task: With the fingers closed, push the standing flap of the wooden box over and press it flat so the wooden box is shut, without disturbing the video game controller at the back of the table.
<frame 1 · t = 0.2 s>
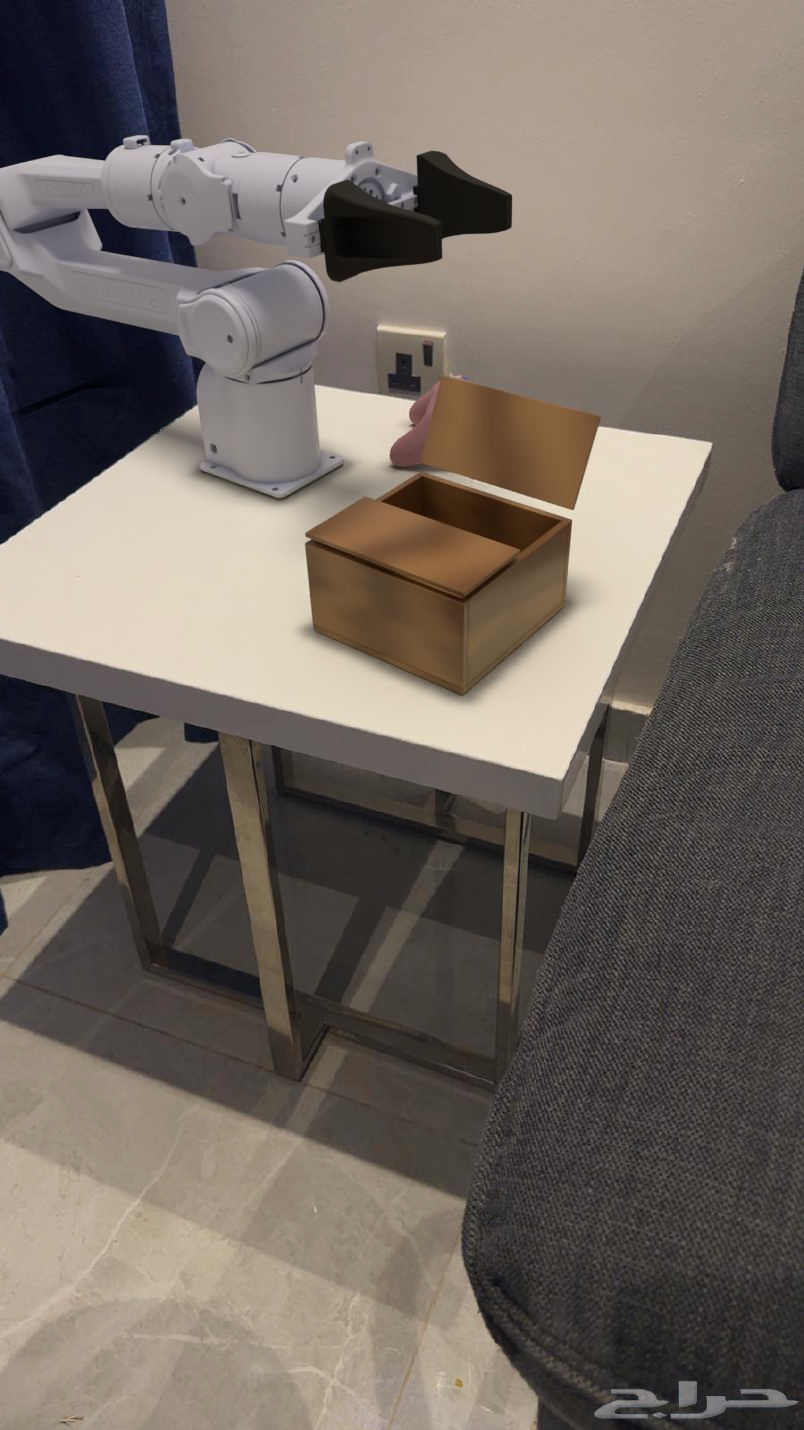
hand: (475, 226, 63), 21 cm above the table, tool horizontal, fingers open, 7 cm apart
wooden box: (440, 617, 69), on the table
flap: (505, 440, 67), point 10 cm above the table, hinge at 115.0°
video game controller: (433, 448, 89), on the table
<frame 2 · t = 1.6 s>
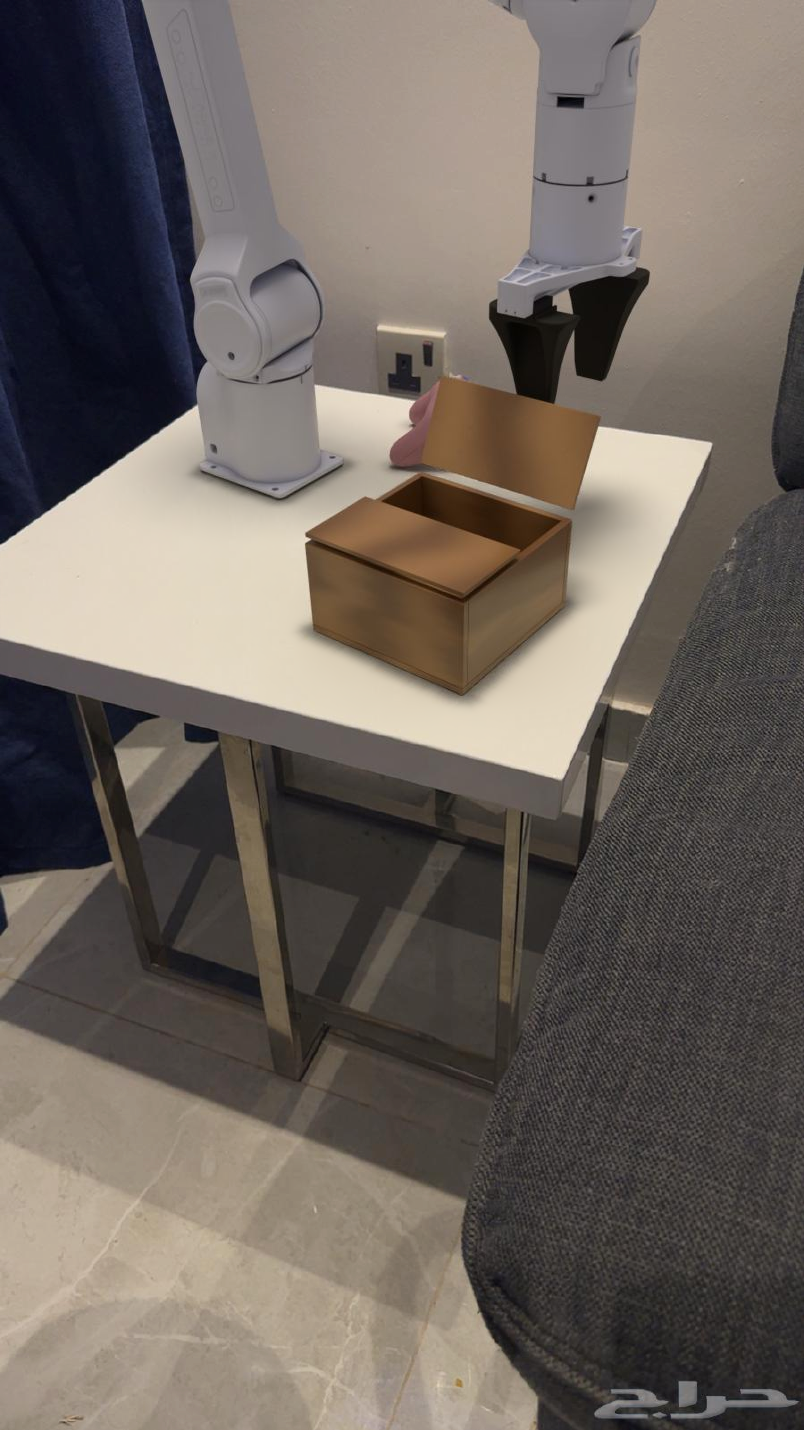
hand: (564, 394, 71), 10 cm above the table, tool pointing down, fingers open, 7 cm apart
nothing on the table moved.
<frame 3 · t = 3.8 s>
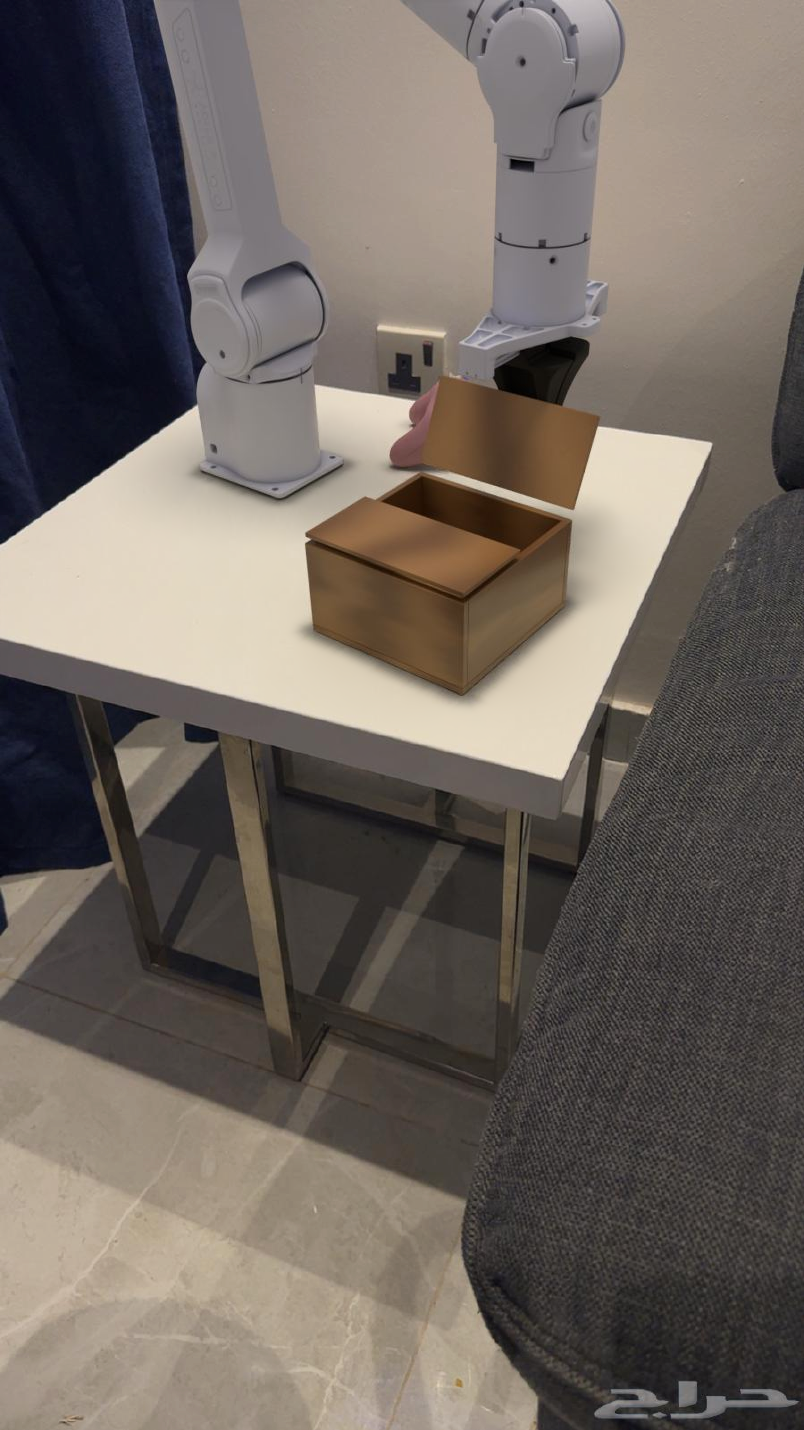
hand: (530, 450, 70), 8 cm above the table, tool pointing down, fingers closed
flap: (505, 440, 67), point 10 cm above the table, hinge at 114.2°, touching gripper
everything else where it was.
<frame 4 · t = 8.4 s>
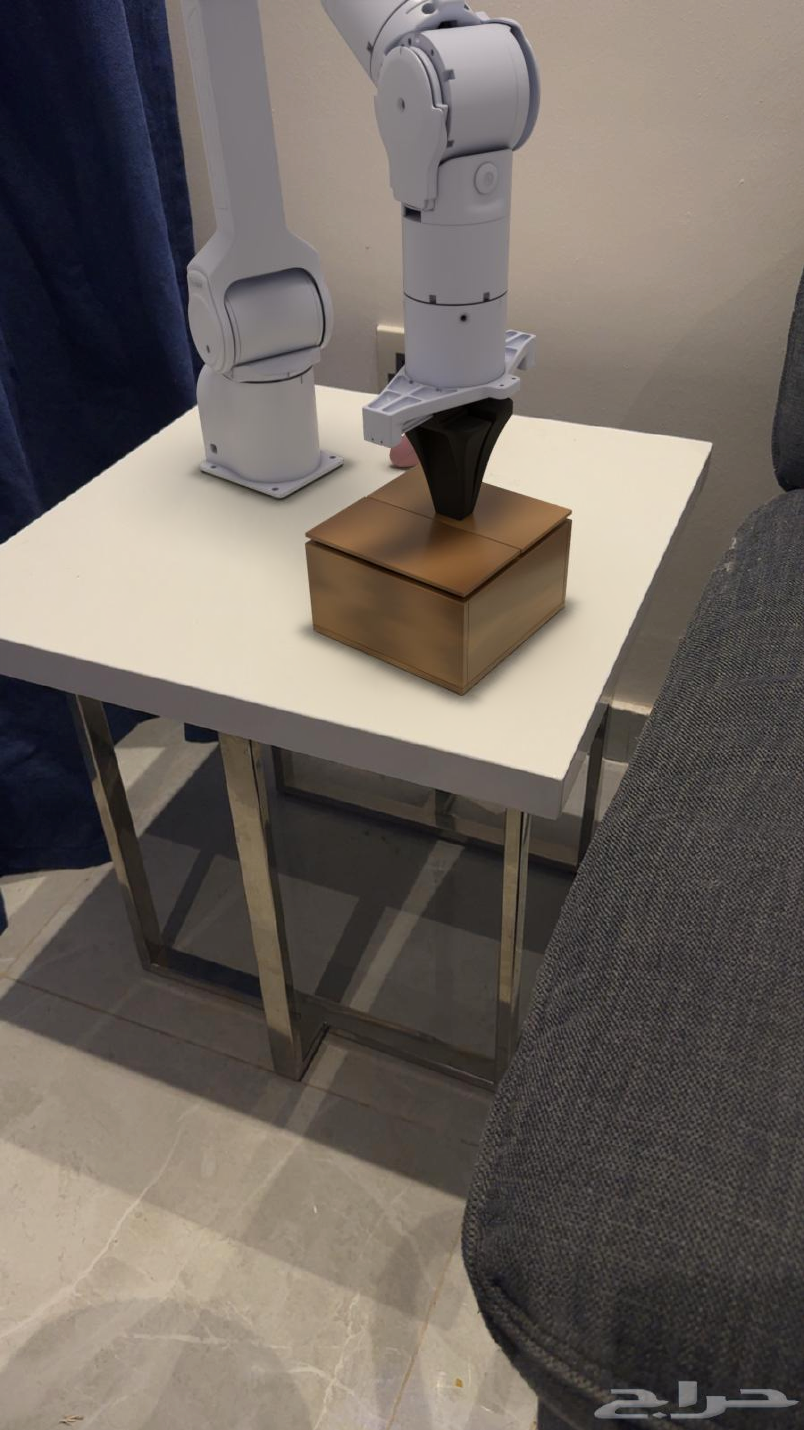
hand: (454, 512, 65), 7 cm above the table, tool pointing down, fingers closed, pressing on flap
flap: (467, 504, 66), point 7 cm above the table, hinge at -0.5°, touching gripper
everything else where it was.
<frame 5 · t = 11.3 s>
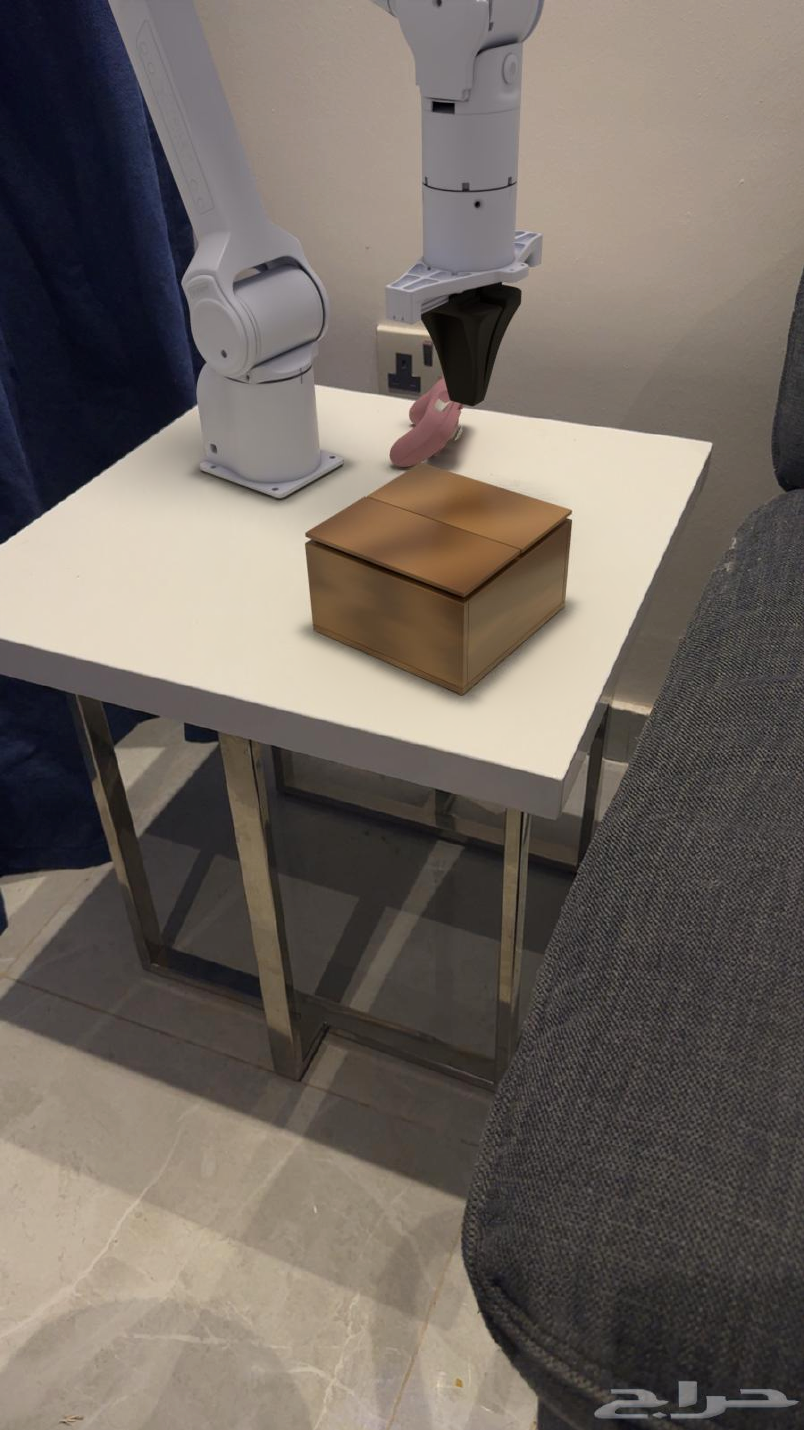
hand: (466, 400, 70), 10 cm above the table, tool pointing down, fingers closed
flap: (467, 504, 66), point 7 cm above the table, hinge at -0.5°
everything else where it was.
at the end: flap at +0° (first picture: +115°); video game controller moved 0.2 cm from its start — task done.
